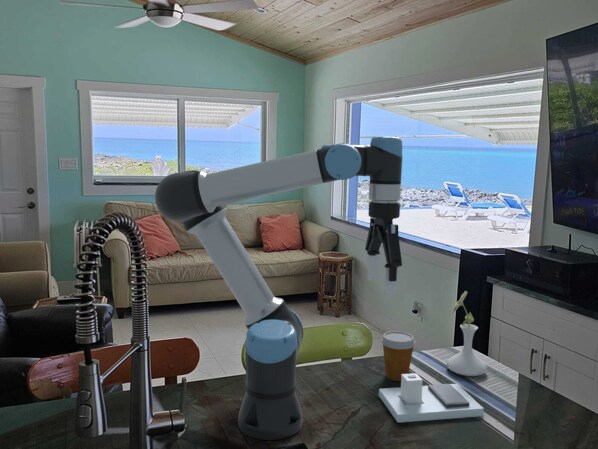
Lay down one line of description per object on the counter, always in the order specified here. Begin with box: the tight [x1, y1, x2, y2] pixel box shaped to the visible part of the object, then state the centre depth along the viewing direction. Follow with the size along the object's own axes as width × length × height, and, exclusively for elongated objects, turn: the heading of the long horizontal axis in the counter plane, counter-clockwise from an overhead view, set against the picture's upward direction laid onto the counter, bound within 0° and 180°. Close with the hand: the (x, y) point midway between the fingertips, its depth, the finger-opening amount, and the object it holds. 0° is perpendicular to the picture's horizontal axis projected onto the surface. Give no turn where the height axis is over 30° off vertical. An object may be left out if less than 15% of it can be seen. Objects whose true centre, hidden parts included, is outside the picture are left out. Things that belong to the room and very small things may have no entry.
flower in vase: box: [446, 290, 488, 377], centre depth 155 cm, size 13×11×25 cm
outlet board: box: [378, 383, 485, 423], centre depth 135 cm, size 22×14×2 cm, turn 100°
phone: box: [427, 383, 469, 408], centre depth 136 cm, size 6×11×1 cm, turn 10°
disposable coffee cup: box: [380, 330, 416, 382], centre depth 152 cm, size 10×10×12 cm
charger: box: [400, 373, 424, 405], centre depth 134 cm, size 4×4×8 cm
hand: (381, 286), depth 132 cm, fingers open, 13 cm apart
